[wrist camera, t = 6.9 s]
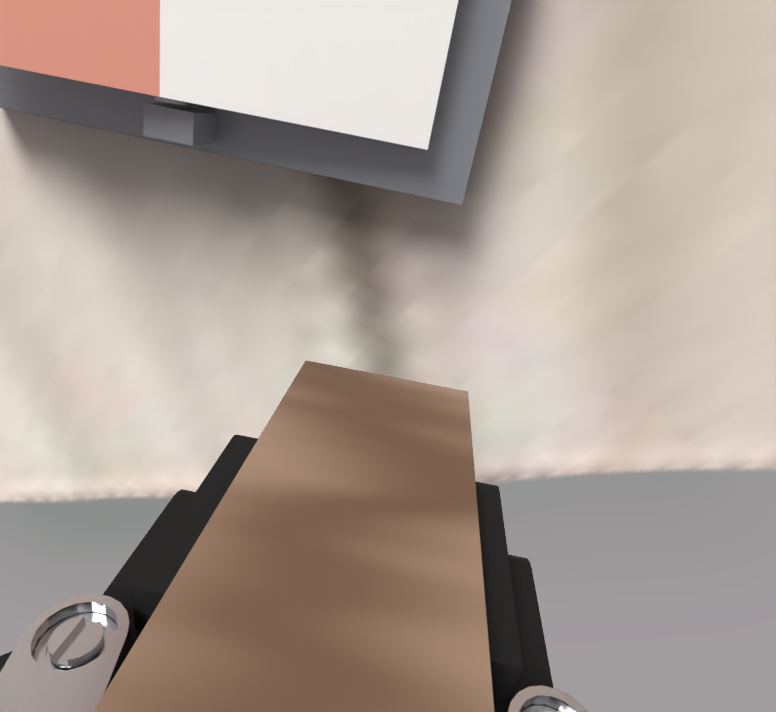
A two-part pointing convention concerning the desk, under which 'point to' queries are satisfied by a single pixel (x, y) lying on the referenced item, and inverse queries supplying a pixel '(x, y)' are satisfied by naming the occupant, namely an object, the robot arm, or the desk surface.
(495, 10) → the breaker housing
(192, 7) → the breaker rocker
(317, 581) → the peg
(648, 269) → the desk surface
